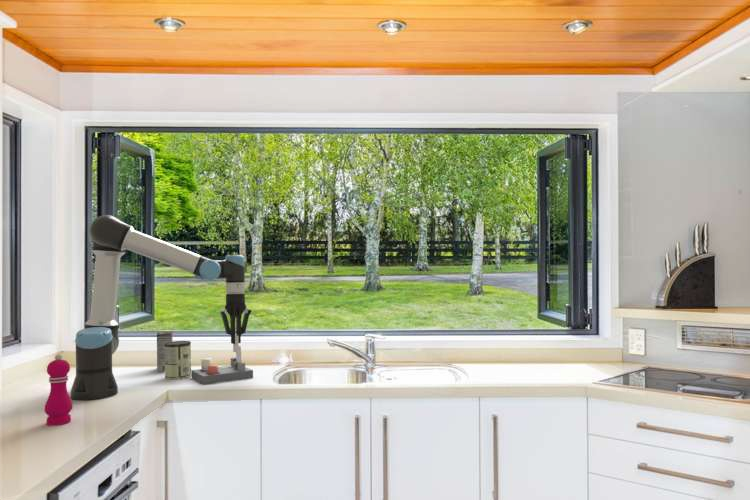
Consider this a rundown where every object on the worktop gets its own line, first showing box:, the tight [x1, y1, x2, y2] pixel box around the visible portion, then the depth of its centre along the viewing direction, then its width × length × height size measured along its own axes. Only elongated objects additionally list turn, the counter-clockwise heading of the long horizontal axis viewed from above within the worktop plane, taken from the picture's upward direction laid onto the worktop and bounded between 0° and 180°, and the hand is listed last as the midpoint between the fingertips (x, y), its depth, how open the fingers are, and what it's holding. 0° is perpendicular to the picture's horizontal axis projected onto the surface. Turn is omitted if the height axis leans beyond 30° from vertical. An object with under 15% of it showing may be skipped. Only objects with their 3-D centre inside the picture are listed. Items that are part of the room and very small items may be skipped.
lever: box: [235, 345, 243, 367], centre depth 233 cm, size 2×3×9 cm, turn 34°
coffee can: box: [164, 340, 192, 380], centre depth 236 cm, size 10×10×14 cm
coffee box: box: [156, 331, 174, 373], centre depth 253 cm, size 9×6×16 cm
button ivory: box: [200, 357, 213, 372], centre depth 233 cm, size 4×4×5 cm
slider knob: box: [230, 357, 237, 366], centre depth 240 cm, size 2×3×3 cm
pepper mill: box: [44, 353, 73, 426], centre depth 170 cm, size 7×7×20 cm
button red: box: [208, 364, 219, 375], centre depth 227 cm, size 4×4×5 cm
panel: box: [190, 361, 254, 385], centre depth 233 cm, size 20×16×6 cm
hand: (236, 351), depth 232 cm, fingers closed
